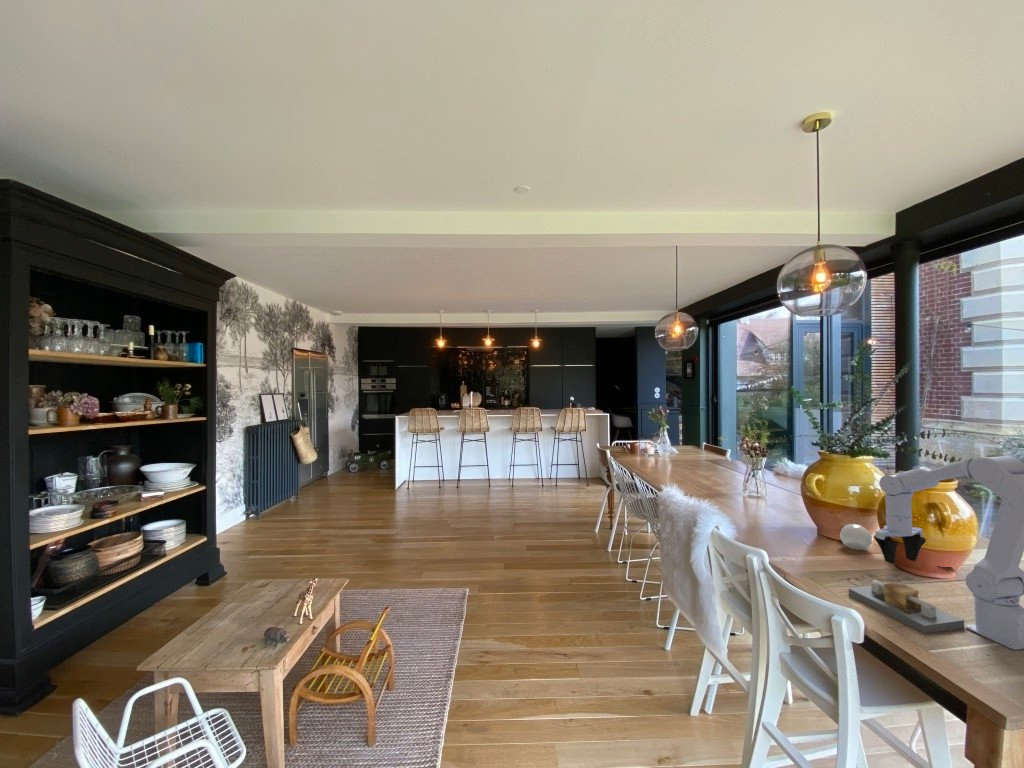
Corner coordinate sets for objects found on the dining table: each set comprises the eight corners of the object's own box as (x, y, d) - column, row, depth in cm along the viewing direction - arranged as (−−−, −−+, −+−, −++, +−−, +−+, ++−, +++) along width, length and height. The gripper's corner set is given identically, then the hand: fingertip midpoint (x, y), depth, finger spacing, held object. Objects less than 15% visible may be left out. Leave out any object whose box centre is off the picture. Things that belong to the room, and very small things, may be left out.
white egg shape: (857, 558, 154) (844, 548, 167) (883, 544, 151) (868, 536, 165) (837, 535, 157) (826, 527, 171) (862, 521, 154) (850, 514, 168)
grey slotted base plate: (964, 628, 107) (963, 607, 107) (924, 633, 105) (924, 613, 105) (883, 591, 126) (882, 574, 127) (848, 595, 125) (848, 577, 125)
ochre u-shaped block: (919, 608, 114) (918, 590, 114) (904, 611, 113) (903, 592, 113) (899, 599, 119) (898, 582, 119) (885, 602, 118) (883, 584, 118)
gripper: (904, 509, 131) (906, 553, 130) (864, 513, 128) (866, 558, 128) (930, 516, 124) (932, 562, 123) (888, 520, 121) (890, 567, 121)
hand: (900, 561), depth 125 cm, fingers open, 7 cm apart
